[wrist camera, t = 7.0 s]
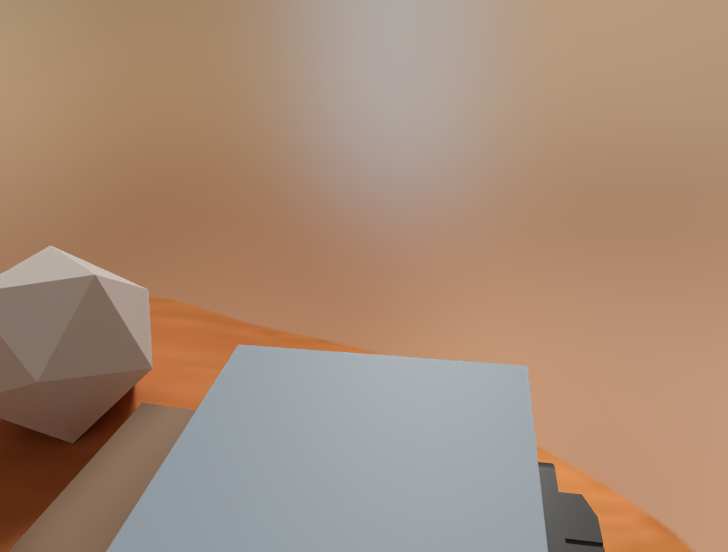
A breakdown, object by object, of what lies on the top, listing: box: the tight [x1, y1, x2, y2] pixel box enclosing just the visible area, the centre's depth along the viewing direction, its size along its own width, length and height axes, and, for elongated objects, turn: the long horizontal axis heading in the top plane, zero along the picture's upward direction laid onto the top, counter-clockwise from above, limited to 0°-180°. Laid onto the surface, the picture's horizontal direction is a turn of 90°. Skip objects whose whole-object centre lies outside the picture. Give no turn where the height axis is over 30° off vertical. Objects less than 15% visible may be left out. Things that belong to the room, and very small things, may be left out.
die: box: [0, 246, 153, 444], centre depth 29 cm, size 8×9×10 cm
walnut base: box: [8, 403, 196, 552], centre depth 22 cm, size 10×10×3 cm
